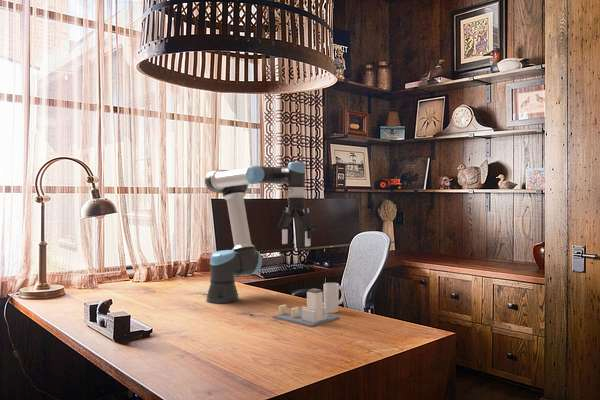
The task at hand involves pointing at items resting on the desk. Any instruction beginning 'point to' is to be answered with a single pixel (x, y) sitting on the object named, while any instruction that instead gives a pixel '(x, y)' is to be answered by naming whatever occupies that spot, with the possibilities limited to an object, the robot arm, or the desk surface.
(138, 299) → the desk surface
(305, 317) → the board
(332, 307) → the mug
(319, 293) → the block
